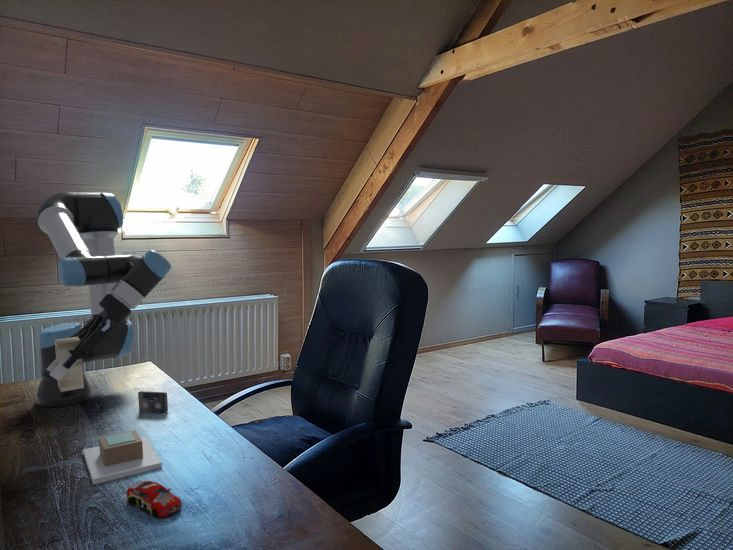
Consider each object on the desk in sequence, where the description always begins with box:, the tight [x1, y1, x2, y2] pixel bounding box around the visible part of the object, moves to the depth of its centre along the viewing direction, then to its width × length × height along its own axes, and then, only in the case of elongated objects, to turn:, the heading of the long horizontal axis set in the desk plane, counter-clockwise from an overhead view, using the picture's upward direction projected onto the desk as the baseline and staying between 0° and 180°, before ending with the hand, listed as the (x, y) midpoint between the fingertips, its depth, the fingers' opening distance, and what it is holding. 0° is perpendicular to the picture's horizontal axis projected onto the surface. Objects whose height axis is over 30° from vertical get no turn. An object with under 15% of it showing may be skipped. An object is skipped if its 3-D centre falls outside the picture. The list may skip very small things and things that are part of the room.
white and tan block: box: [82, 429, 163, 485], centre depth 127 cm, size 18×14×5 cm
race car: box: [126, 480, 182, 519], centre depth 107 cm, size 13×5×4 cm, turn 53°
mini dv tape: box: [137, 390, 169, 414], centre depth 159 cm, size 8×2×6 cm, turn 80°
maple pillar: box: [55, 337, 84, 392], centre depth 135 cm, size 5×5×12 cm
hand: (52, 374), depth 133 cm, fingers closed on maple pillar, 5 cm apart
